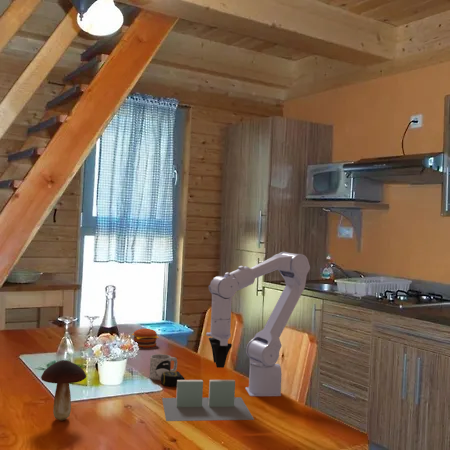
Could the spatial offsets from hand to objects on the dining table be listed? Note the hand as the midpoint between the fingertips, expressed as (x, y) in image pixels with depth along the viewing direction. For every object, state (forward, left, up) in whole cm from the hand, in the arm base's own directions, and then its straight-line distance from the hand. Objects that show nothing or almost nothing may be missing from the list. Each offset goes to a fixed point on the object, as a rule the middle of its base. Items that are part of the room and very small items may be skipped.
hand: (218, 364), depth 167 cm
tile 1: (0, +7, -10) cm, 12 cm away
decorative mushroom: (+42, +15, -10) cm, 46 cm away
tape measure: (+12, -14, -10) cm, 21 cm away
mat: (+5, +9, -10) cm, 14 cm away
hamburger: (+19, -66, -10) cm, 69 cm away
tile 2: (+9, +7, -10) cm, 15 cm away
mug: (+14, -23, -10) cm, 29 cm away
